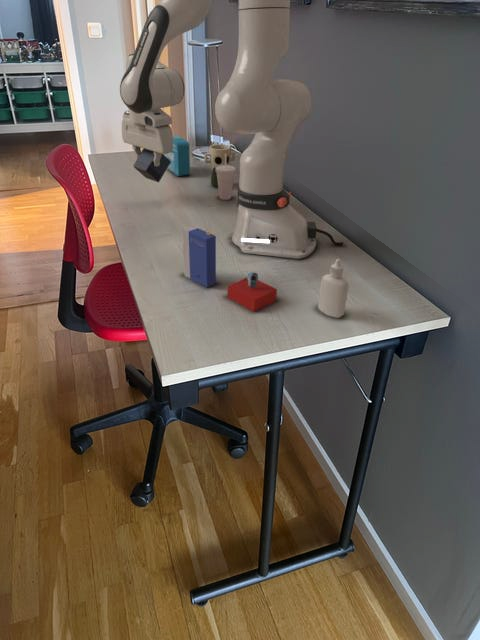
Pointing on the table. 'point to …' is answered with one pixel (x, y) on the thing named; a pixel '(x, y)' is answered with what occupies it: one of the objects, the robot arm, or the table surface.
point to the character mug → (218, 159)
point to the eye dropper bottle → (333, 292)
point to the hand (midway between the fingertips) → (148, 163)
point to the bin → (147, 168)
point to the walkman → (200, 256)
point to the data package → (179, 157)
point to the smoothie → (225, 179)
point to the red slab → (252, 292)
